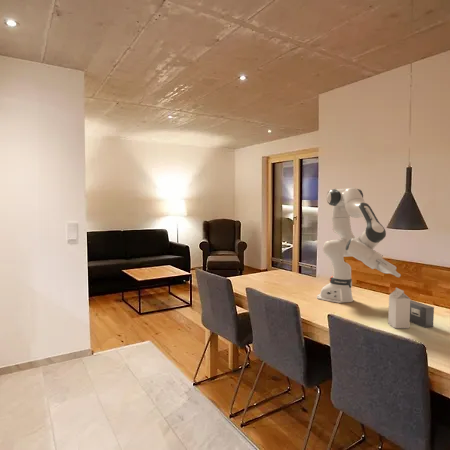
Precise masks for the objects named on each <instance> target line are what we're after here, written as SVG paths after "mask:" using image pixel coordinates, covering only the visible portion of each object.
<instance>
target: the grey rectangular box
mask: <svg viewBox="0 0 450 450" xmlns="http://www.w3.org/2000/svg"><path fill="white" fill-rule="evenodd" d="M434 313H435V307H434V306H431V305H428V304H425V303H421V302H419V301H415V300H412V299H410V323H412V324H415V325H417V326H420V327H422V328H425V329H426V328H427V329H428V328H433V327H434Z"/></svg>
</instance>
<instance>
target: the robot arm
mask: <svg viewBox="0 0 450 450" xmlns="http://www.w3.org/2000/svg"><path fill="white" fill-rule="evenodd" d="M326 201H327V204H329V206H332V209H331V223H332V224H331V225H332V227H331V228H332V230H333V232H334V233H335V234H337V235H338V236H339V238H340V239H331V240H326V241H324V243H323V246H322V251H323V254H324V255H325V256H326V257H327V258H329V260H330V262H331V264H332V265H331V266H332V275H331V276H330V278H329V283H327V284H326V285H324V286H323V287H322V288H321V290H320V293H319V294H317V295H316V299H317V300H322V301H328V302H332V303H336V304H338V303H339V304H341V303H352V302H353V301H354V298H353V293H352V292H353V291H352V286H353V278H352V266H351V265H350V264H349V263H348V262H345V258H346V257H348V258H349V257H353V258H354V259H356V260H357V261H360V262H362V263H363V264H364V265H365V266H367V267H369V268H370V269H371V270H374V269H375V270H377V271H379V272H381V273H383V274H390V275H392V276H395V277H396V278H400V277H401V276H402V275H401V273H399V272H398V271H397V266H396V265H394V264H392V263H390V262H389V261H388V260H385V258H383V255H382V254H381V253H380V252H377V251H376V250H374V249H375V248H376V247H377V246H378V245H379V244H380V242H382V241H383V240H384V239H385V238H386V237H387V236H386V235H387V232H386V229H385V227H384V226H383V225H382V224H381V222H380V221H379V220H378V218H377V215H376V214H375V212H374V211H373V209H372V207H371V206H370V205H369V204H368V203H366V202H365V200H364V193H363V191H362V190H361V189H360V188H356V187H345V188H337V189H336V188H334V189H329V191H328V192H327V194H326ZM351 218H355V219H359V218H363V221H364V223H365V225H366V226H365V229H364V230H363V231H362V233H361V234H360V235H358V236H357V237H355V235H354V233H353V231H352V226H351V225H352V224H351ZM344 257H345V258H344Z"/></svg>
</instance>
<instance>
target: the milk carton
mask: <svg viewBox="0 0 450 450" xmlns="http://www.w3.org/2000/svg"><path fill="white" fill-rule="evenodd" d="M410 300H411V298H410V297H409V296H408V295H407V294H405V290H404V289H400V288H398V287H395V289H394V290H393V291H392V292H391V293H390V294H388V314H387V315H388V317H387V318H388V319H387V323H388V325H390V326H391V327H393V329H410V323H411V322H410Z"/></svg>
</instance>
